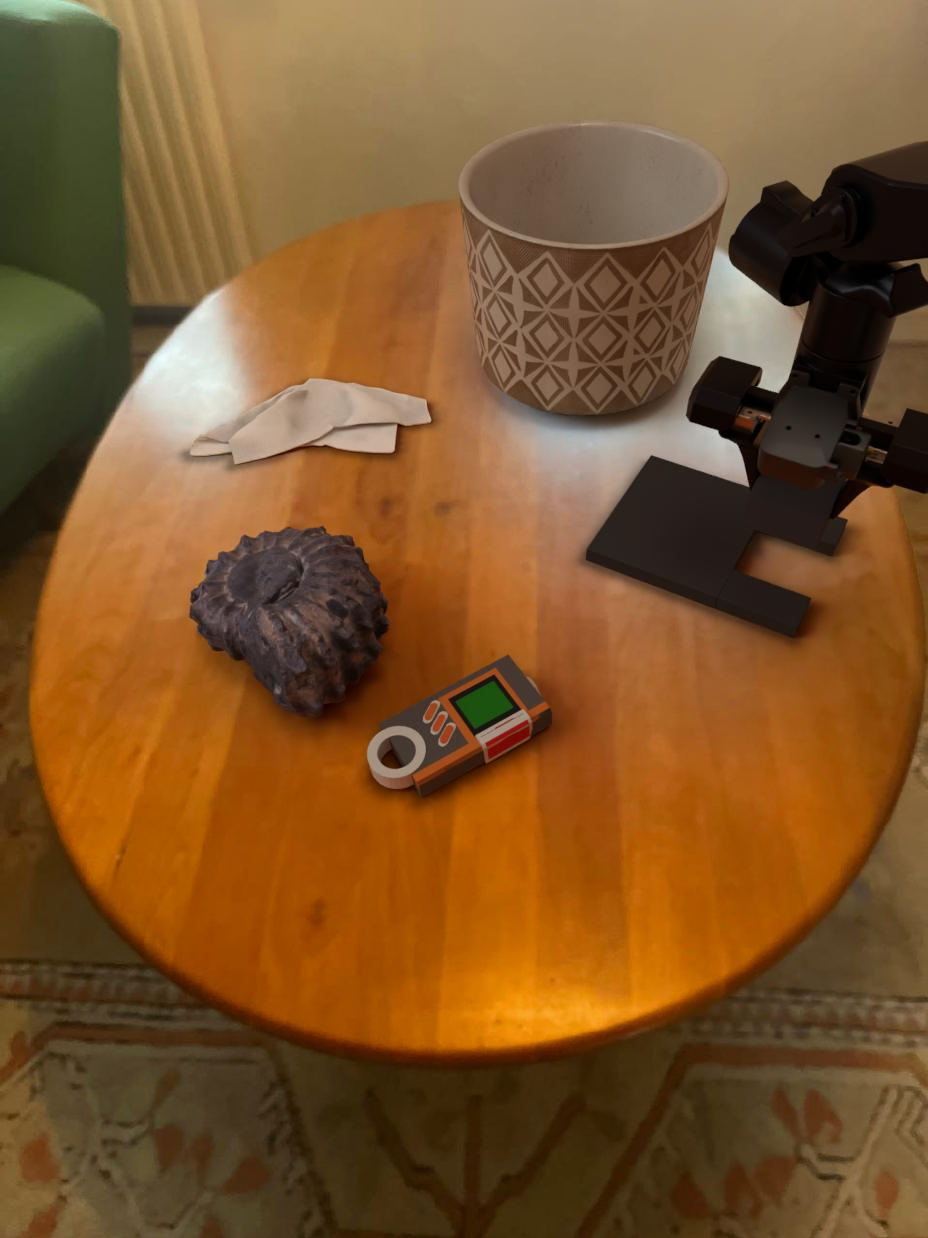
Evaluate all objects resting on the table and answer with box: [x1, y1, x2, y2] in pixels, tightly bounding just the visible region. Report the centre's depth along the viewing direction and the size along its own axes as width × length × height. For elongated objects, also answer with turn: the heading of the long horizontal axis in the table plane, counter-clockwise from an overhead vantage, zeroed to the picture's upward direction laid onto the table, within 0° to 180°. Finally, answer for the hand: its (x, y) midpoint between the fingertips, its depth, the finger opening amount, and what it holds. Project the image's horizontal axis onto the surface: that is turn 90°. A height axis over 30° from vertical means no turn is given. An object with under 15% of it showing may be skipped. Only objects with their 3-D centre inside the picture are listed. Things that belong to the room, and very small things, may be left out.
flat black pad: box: [585, 455, 849, 639], centre depth 90 cm, size 20×15×2 cm
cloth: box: [189, 377, 432, 466], centre depth 104 cm, size 26×14×2 cm, turn 91°
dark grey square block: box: [741, 473, 847, 551], centre depth 77 cm, size 6×6×4 cm
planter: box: [458, 119, 730, 416], centre depth 101 cm, size 26×26×22 cm
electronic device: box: [366, 654, 553, 798], centre depth 77 cm, size 7×3×15 cm
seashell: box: [188, 525, 390, 718], centre depth 81 cm, size 20×13×15 cm
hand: (792, 503), depth 78 cm, fingers closed on dark grey square block, 6 cm apart
